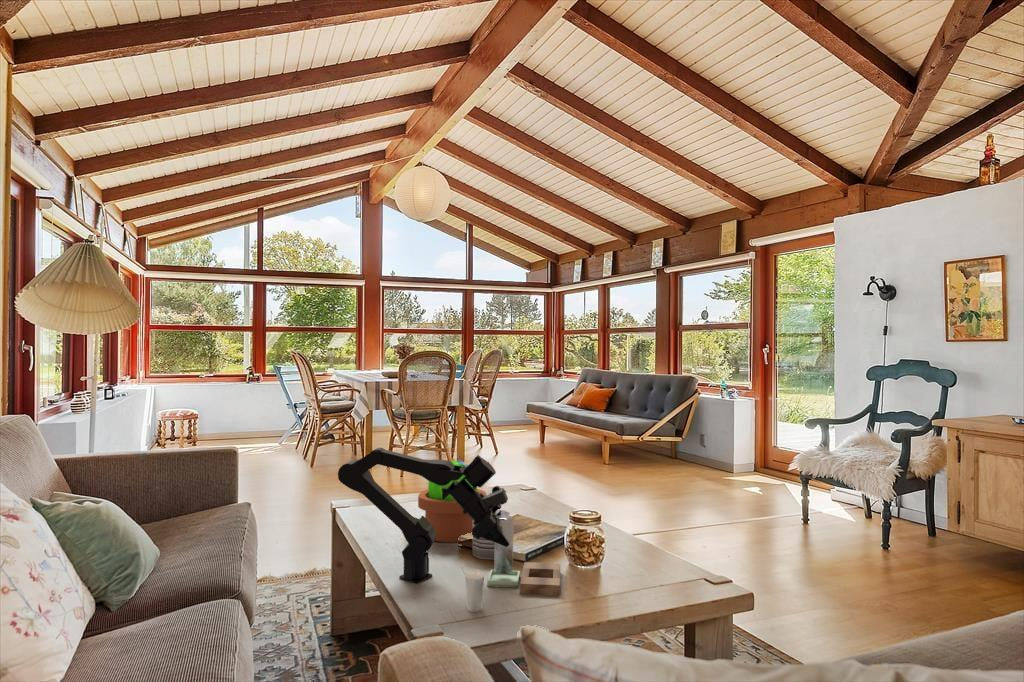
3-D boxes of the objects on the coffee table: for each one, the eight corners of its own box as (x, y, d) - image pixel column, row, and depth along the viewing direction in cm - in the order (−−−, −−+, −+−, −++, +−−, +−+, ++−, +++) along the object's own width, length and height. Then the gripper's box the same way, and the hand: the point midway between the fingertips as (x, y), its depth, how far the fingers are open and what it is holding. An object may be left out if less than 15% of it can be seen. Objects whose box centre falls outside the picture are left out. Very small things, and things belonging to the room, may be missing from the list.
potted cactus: (405, 540, 202) (406, 462, 203) (438, 522, 223) (439, 451, 223) (467, 549, 194) (468, 467, 194) (496, 530, 214) (496, 456, 215)
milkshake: (461, 605, 152) (461, 564, 152) (483, 605, 152) (483, 563, 153) (461, 613, 147) (461, 570, 148) (484, 613, 148) (484, 570, 148)
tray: (487, 586, 164) (487, 580, 164) (490, 575, 172) (490, 569, 172) (517, 587, 164) (517, 581, 164) (520, 576, 172) (520, 570, 172)
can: (504, 561, 184) (505, 519, 184) (467, 558, 186) (467, 517, 186) (512, 548, 195) (513, 509, 195) (477, 546, 197) (477, 507, 197)
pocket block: (519, 593, 160) (520, 583, 160) (524, 571, 176) (524, 562, 176) (559, 595, 159) (559, 585, 159) (560, 572, 175) (560, 563, 175)
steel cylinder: (505, 575, 165) (506, 521, 165) (490, 571, 168) (491, 518, 168) (516, 570, 169) (517, 517, 169) (501, 566, 172) (502, 514, 172)
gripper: (485, 486, 159) (528, 532, 158) (494, 471, 178) (532, 512, 177) (454, 516, 160) (497, 562, 159) (466, 498, 179) (504, 539, 178)
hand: (509, 542), depth 168 cm, fingers closed on steel cylinder, 5 cm apart
